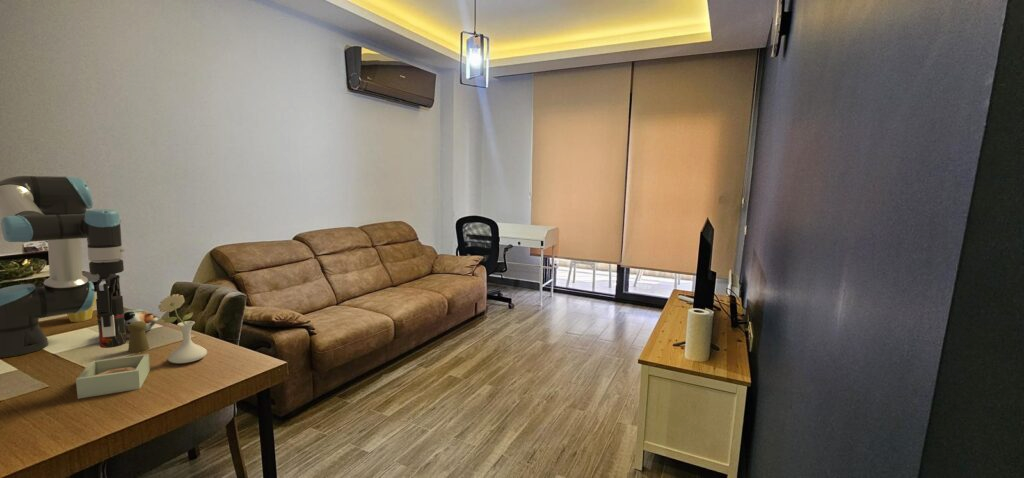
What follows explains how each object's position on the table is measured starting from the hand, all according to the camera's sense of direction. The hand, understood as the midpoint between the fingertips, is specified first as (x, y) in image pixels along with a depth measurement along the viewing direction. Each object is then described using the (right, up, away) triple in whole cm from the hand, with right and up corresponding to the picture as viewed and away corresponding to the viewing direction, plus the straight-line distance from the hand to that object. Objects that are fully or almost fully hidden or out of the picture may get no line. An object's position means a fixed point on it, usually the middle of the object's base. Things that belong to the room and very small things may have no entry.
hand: (112, 332), depth 130 cm
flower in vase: (+7, -15, +21) cm, 26 cm away
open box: (-1, -17, +2) cm, 17 cm away
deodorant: (0, -4, +1) cm, 4 cm away
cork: (-16, -13, +27) cm, 34 cm away
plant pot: (-66, -7, +54) cm, 86 cm away
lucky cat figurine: (-31, -10, +42) cm, 53 cm away
